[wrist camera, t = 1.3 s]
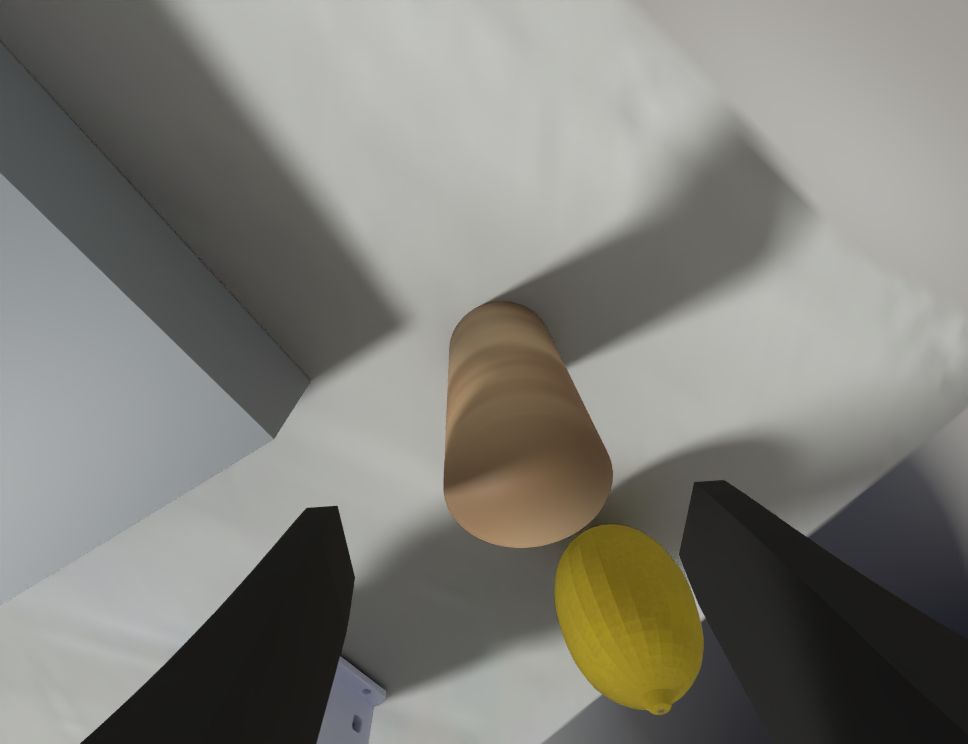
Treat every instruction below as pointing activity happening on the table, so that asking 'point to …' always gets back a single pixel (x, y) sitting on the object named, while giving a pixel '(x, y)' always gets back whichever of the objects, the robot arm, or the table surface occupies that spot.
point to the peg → (518, 434)
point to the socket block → (108, 349)
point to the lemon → (628, 617)
